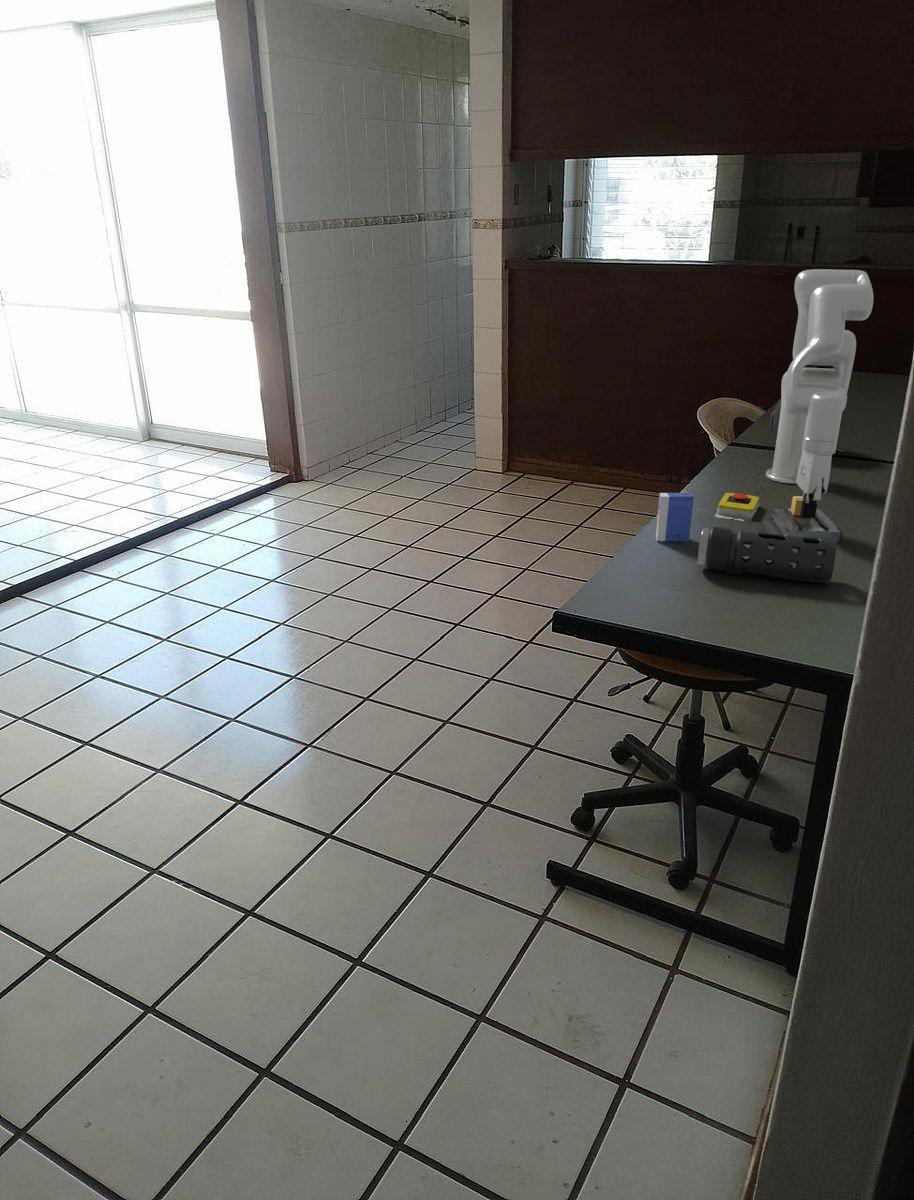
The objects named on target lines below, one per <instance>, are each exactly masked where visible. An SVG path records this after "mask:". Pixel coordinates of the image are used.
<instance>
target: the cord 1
mask: <svg viewBox="0 0 914 1200" xmlns="http://www.w3.org/2000/svg"><path fill="white" fill-rule="evenodd" d="M763 526H764V527H763ZM762 527H763V529H764V528H765V529H766V530H765V529H764V530H765V532H766V531H767V532H768V533H770V534H779V533H778V531H777V530H776V528H774V526H773V524H772V523H771V522H770V520H763V523H762ZM767 532H766V533H767Z"/></svg>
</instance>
